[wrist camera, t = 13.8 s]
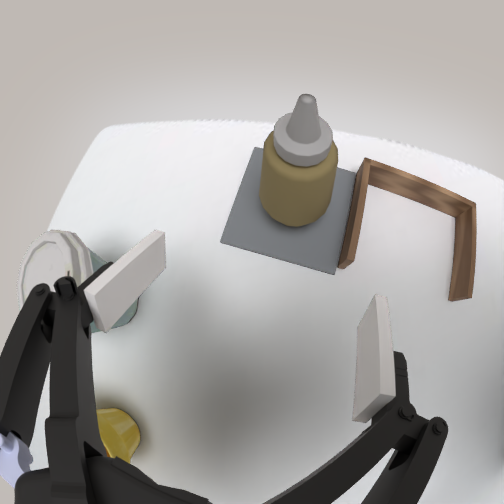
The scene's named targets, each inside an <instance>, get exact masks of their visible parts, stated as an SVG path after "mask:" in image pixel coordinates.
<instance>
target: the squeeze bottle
mask: <svg viewBox="0 0 504 504" xmlns="http://www.w3.org/2000/svg"><path fill="white" fill-rule="evenodd" d="M337 164H338V149H337V147H336V145H335V143H334V141H333V135H332V130H331V128H330V126H329V125H328V123H327V122H326V121H324V120H323V119H322V118H321V117H319V116H318V109H317V103H316V99H315V97H314V96H312V95H310V94H302V95H301V96H300V97H299V99H298V101H297V103H296V106H295V108H294V110H293V113H288V114H286V115H285V116H283V117H281V118H280V119H279V120H278V121H277V123H276V124H275V126H274V131H272V132H271V133H270V134H269V136H268V137H267V139H266V140H265V142H264V149H263V159H262V169H261V179H260V189H259V197H260V200H261V203H262V206H263V208H264V209H265V210H266V212H267V213H268V214H269V215H270V216H271V217H272V218H273V219H275V220H277V221H278V222H280V223H282V224H284V225H286V226H294V227H298V226H303V225H306V224H309V223H313V222H315V221H316V220H318V219H319V218H320V217H321V216H322V215H324V214H325V212H326V210H327V208H328V206H329V204H330V202H331V197H332V192H333V187H334V181H335V176H336V170H337Z"/></svg>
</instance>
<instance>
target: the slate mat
mask: <svg viewBox="0 0 504 504" xmlns="http://www.w3.org/2000/svg"><path fill="white" fill-rule="evenodd" d="M262 159H263V148H258V147H255V148H254V150H253V153H252V155H251V158H250V161H249V163H248V166H247V169H246V171H245V174H244V177H243V179H242V182H241V185H240V187H239V190H238V193H237V196H236V198H235V201H234V204H233V207H232V209H231V212H230V215H229V218H228V221H227V223H226V226H225V229H224V232H223V235H222V238H221V241H220V242H221V243H224V244H227V245H231V246H234V247H238V248H241V249H245V250H248V251H252V252H255V253H259V254H262V255H266V256H269V257H273V258H276V259H280V260H283V261H287V262H290V263H294V264H297V265H301V266H304V267H308V268H311V269H315V270H318V271H322V272H325V273H329V274H332V275H334V274H335V271H336V267H337V263H338V259H339V254H340V250H341V246H342V241H343V236H344V232H345V227H346V222H347V217H348V212H349V207H350V201H351V196H352V190H353V184H354V178H355V173H354V172H351V171H348V170H345V169H341V168H338V167H337V170H336V176H335V181H334V187H333V192H332V197H331V202H330V204H329V206H328V208H327V210H326V212H325V214H324V215H322V216H321V217H320V218H319V219H318V220H316V221H315V222H313V223H309V224H306V225H303V226H298V227H294V226H286V225H284V224H282V223H280V222H278V221H277V220H275V219H273V218H272V217H271V216H270V215H269V214H268V213H267V212H266V210H265V209H264V208H263V206H262V203H261V200H260V197H259V189H260V179H261V169H262Z"/></svg>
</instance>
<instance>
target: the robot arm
mask: <svg viewBox="0 0 504 504" xmlns="http://www.w3.org/2000/svg"><path fill="white" fill-rule="evenodd" d="M165 268H166V255H165V232H161V231H158V230H154V231H153V232H151V233H150V234H149V235H148V236H146V237H145V238H144V239H143V240H141V241H140V242H139V243H138V244H136V245H135V246H134V247H133V248H132V249H130V250H129V251H128V252H127V253H126V254H124V255H123V256H122V257H121V258H120V259H118V260H117V261H116V262H115V263H113V262H109V263H107V264H104V265H103V266H101V267H100V268H99V269H98V270H97V271H95V272H94V273H93V274H92V275H91V276H90V277H89V278H87V279H86V280H85V281H84V282H83V283H82V284H81V285H79V286H78V287H77V284H76V281H75V279H74V278H73V277H71V276H64V277H61V278H59V279H58V280H57V281H56V282H55V283H54V285H53V286H54V289H55V291H56V292H52V291H51V290H50V287H49V285H48V284H45V283H40V284H37V285H36V286H34V287H33V288H32V290H31V292H30V293H29V295H28V297H27V299H26V301H25V303H24V305H23V307H22V309H21V311H20V313H19V315H18V317H17V319H16V321H15V323H14V325H13V327H12V330H11V332H10V334H9V336H8V339H7V341H6V343H5V346H4V348H3V351H2V353H1V356H0V476H2V477H3V478H4V479H5V480H6V481H7V482H8V483H9V484H10V485H11V486H12V487H13V488H14V489H15V504H212V503H211V502H209V501H208V500H209V499H207V498H204V497H201V496H198V495H196V494H193V493H190V492H188V491H185V490H181V489H176V488H171V487H166V486H162V485H158V484H157V483H156V482H154V481H153V480H152V479H151V478H149V477H148V476H147V475H145V474H144V473H143V472H142V471H140V470H139V469H138V468H137V467H135V466H133V465H131V464H129V463H128V462H126V461H124V460H122V459H121V458H119V457H117V456H116V457H115V458H112V457H107V453H106V449H105V446H104V444H103V442H102V440H101V437H100V432H99V425H98V419H97V412H96V404H95V395H94V384H93V371H92V351H91V326H90V324H91V323H92V322H93V320H94V323H95V326H96V328H98V329H99V330H101V331H103V332H105V333H107V332H108V331H109V330H110V328H111V327H112V326H113V325H114V324H115V323H116V322H117V320H118V319H119V318H120V317H121V316H122V315H123V314H124V313H125V312H126V310H127V309H128V308H129V307H130V306H131V305H132V304H133V303H134V302H135V300H136V299H137V298H138V297H139V296H140V295H141V294H142V293H143V292H144V291H145V290H146V289H147V288H148V286H149V285H150V284H151V283H152V282H153V281H154V280H155V279H156V278H157V277H158V276H159V275H160V274H161V273H162V272H163V271H164V269H165ZM49 364H50V416H49V417H48V418H46V420H45V437H46V447H47V456H48V463H49V468H45V469H39V470H34V471H31V470H30V466H29V464H31V463H32V462H33V457H32V455H31V454H30V451H29V446H30V444H31V440H32V437H33V433H34V428H35V422H36V417H37V412H38V407H39V403H40V398H41V394H42V390H43V386H44V382H45V378H46V374H47V371H48V367H49ZM407 377H408V373H407V363H406V360H405V357H404V355H403V353H400V352H396V351H393V343H392V333H391V325H390V317H389V309H388V302H387V297H384V296H380V295H377V294H375V296H374V298H373V299H372V301H371V303H370V305H369V307H368V309H367V311H366V313H365V314H364V316H363V318H362V320H361V322H360V323H359V325H358V332H357V365H356V382H355V395H354V407H353V417H352V421H357V422H364V423H366V422H368V421H369V420H370V419H371V418H372V422H371V426H369V427H368V428H367V429H366V430H364V431H363V432H362V434H361V435H360V436H358V437H357V438H356V439H355V440H354V441H353V442H351V443H350V444H349V445H348V446H347V447H346V448H344V449H343V450H342V451H341V452H339V453H338V454H337V455H336V456H334V457H333V458H332V459H330V460H329V461H328V462H327V463H325V464H324V465H323V466H321V467H320V468H318V469H317V470H316V471H314V472H313V473H311V474H310V475H308V476H307V477H306V478H304V479H303V480H301V481H300V482H298V483H297V484H295V485H293V486H292V487H290V488H289V489H287V490H285V491H284V492H282V493H280V494H279V495H277V496H275V497H274V498H272V499H270V500H268V501H267V502H265V503H263V504H331V503H332V502H334V501H335V500H336V499H337V498H339V497H340V496H341V495H342V494H344V493H345V492H346V491H347V490H348V489H350V488H351V487H352V486H353V485H354V484H355V483H356V482H358V481H359V480H360V479H361V478H362V477H363V476H364V475H365V474H366V473H367V472H369V471H370V470H371V469H372V468H373V467H374V466H375V465H376V464H377V463H378V462H379V461H380V460H381V459H382V458H383V457H384V456H385V455H386V454H387V453H388V451H389V450H390V449H391V448H393V449H395V451H394V453H393V455H392V456H391V458H390V460H389V462H388V463H387V465H386V467H385V468H384V470H383V472H382V473H381V475H380V476H379V478H378V480H377V481H376V483H375V484H374V486H373V487H372V489H371V490H370V492H369V493H368V495H367V496H366V497H365V499H364V500H363V502H362V503H361V504H417V503H418V501H419V499H420V497H421V495H422V493H423V491H424V489H425V487H426V485H427V483H428V481H429V479H430V477H431V475H432V472H433V470H434V468H435V466H436V463H437V461H438V458H439V456H440V453H441V451H442V448H443V445H444V443H445V440H446V437H447V434H448V425H447V423H446V421H445V420H444V419H443V418H440V417H434V418H432V419H431V420H427V419H425V418H423V417H421V416H419V415H417V414H416V410H415V408H414V406H413V405H412V404H411V403H410V401H409V385H408V378H407Z"/></svg>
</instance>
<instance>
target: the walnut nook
mask: <svg viewBox="0 0 504 504" xmlns="http://www.w3.org/2000/svg"><path fill="white" fill-rule="evenodd" d="M368 184H369V185H372V186H375V187H378V188H381V189H384V190H387V191H390V192H392V193H395V194H398V195H401V196H403V197H406V198H409V199H411V200H414V201H417V202H419V203H422V204H424V205H427V206H429V207H432V208H434V209H436V210H439V211H441V212H444V213H446V214H448V215H451V216H453V217H455V218H456V223H455V246H454V259H453V269H452V278H451V286H450V293H449V299H448V300H450V301H457V300H463V299H469V298H472V292H473V284H474V273H475V260H476V203H474V202H472V201H470V200H468V199H466V198H464V197H462V196H460V195H458V194H456V193H454V192H452V191H449V190H447V189H445V188H443V187H441V186H438V185H436V184H434V183H431V182H429V181H427V180H424V179H422V178H420V177H417V176H415V175H412V174H410V173H407V172H404V171H402V170H399V169H396V168H394V167H391V166H388V165H385V164H383V163H380V162H377V161H374V160H371V159H368V158H364V160H363V162H362V164H361V166H360V168H359V170H358V172H357V174H356V177H355V183H354V189H353V195H352V201H351V206H350V211H349V217H348V222H347V227H346V231H345V236H344V241H343V245H342V250H341V254H340V258H339V263H338V268H341V269H344V268H346V267H347V266H348V265H350V264H351V263H352V262H354V259H355V254H356V249H357V244H358V239H359V234H360V229H361V223H362V218H363V212H364V206H365V199H366V193H367V186H368Z"/></svg>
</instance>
